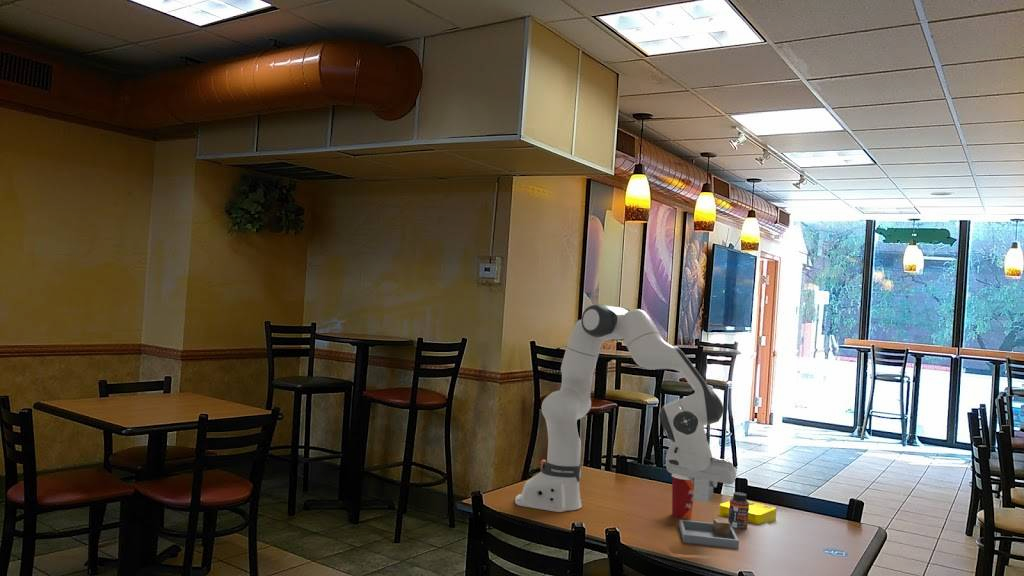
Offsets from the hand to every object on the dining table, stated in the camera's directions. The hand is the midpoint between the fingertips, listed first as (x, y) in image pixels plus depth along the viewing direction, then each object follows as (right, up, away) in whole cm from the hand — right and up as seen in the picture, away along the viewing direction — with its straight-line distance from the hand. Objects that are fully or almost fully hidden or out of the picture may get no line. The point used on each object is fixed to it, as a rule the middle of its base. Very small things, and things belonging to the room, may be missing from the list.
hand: (704, 483), depth 225 cm
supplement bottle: (+13, -18, +11) cm, 25 cm away
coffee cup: (-2, -17, +20) cm, 26 cm away
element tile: (+21, -19, +26) cm, 38 cm away
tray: (0, -16, -2) cm, 16 cm away
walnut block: (+6, -16, +2) cm, 17 cm away
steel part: (-1, -5, -1) cm, 5 cm away
